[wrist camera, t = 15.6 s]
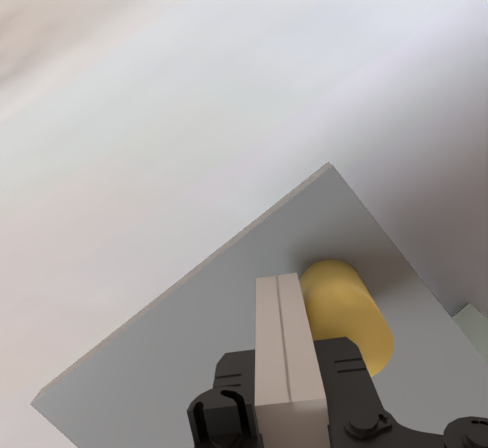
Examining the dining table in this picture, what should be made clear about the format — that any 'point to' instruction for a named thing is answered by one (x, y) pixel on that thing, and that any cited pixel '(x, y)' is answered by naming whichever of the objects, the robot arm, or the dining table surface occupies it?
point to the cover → (244, 328)
